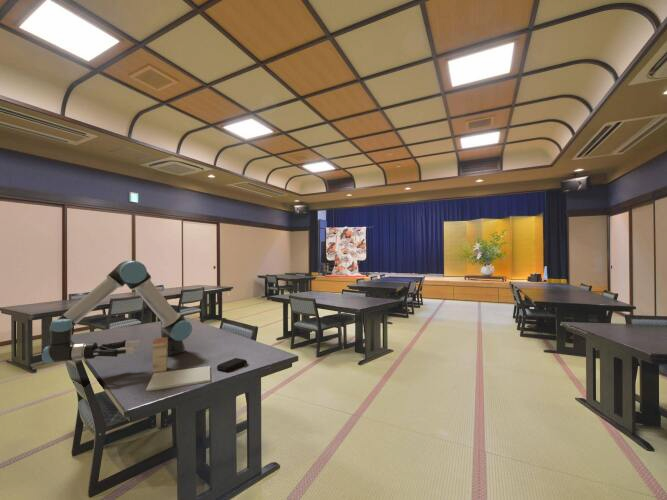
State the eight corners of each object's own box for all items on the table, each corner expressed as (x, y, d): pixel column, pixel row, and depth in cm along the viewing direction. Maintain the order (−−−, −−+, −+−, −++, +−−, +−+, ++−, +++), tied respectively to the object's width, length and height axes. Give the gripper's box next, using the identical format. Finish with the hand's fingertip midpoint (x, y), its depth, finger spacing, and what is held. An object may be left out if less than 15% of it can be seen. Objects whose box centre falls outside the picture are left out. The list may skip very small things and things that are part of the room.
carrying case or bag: (229, 374, 153) (250, 365, 166) (229, 368, 153) (250, 359, 166) (214, 370, 158) (236, 362, 171) (214, 364, 158) (236, 356, 171)
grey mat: (146, 391, 132) (146, 389, 132) (153, 375, 151) (153, 373, 151) (210, 381, 142) (210, 379, 142) (210, 367, 161) (210, 366, 161)
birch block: (154, 368, 160) (154, 338, 160) (167, 367, 162) (167, 337, 163) (152, 372, 154) (152, 341, 155) (165, 371, 157) (166, 339, 157)
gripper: (94, 351, 158) (141, 347, 166) (74, 367, 135) (131, 361, 143) (94, 337, 158) (142, 333, 166) (75, 350, 135) (131, 345, 143)
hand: (137, 346), depth 155 cm, fingers open, 13 cm apart
